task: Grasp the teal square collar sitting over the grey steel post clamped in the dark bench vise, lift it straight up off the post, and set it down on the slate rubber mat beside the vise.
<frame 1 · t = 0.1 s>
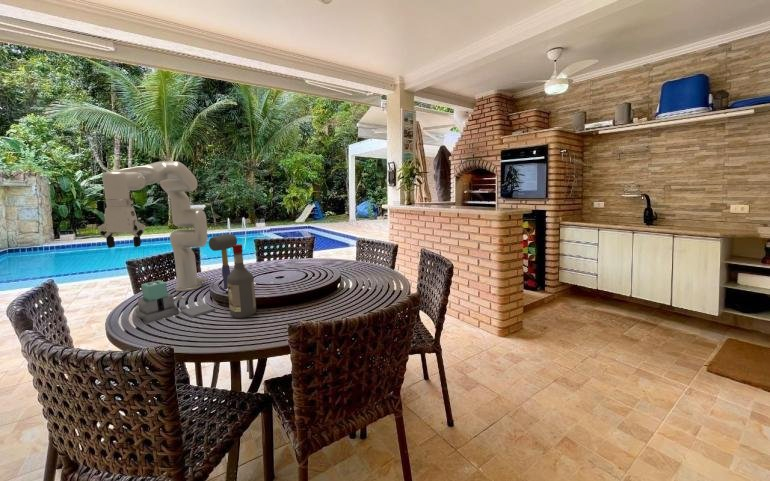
hand: (124, 246, 141), 31 cm above the table, tool pointing down, fingers open, 9 cm apart
vise: (157, 314, 152), on the table
rubber mallet: (228, 292, 181), on the table
mat: (198, 311, 155), on the table
liquor: (243, 314, 151), on the table
collar: (155, 297, 151), point 8 cm above the table, touching vise
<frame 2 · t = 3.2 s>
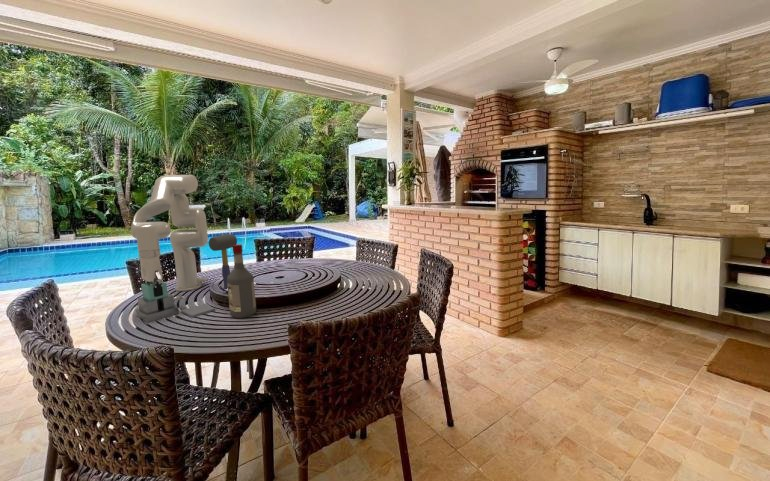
hand: (155, 294, 150), 9 cm above the table, tool pointing down, fingers closed on collar, 7 cm apart
collar: (155, 297, 151), point 8 cm above the table, touching gripper, vise
everything else where it was.
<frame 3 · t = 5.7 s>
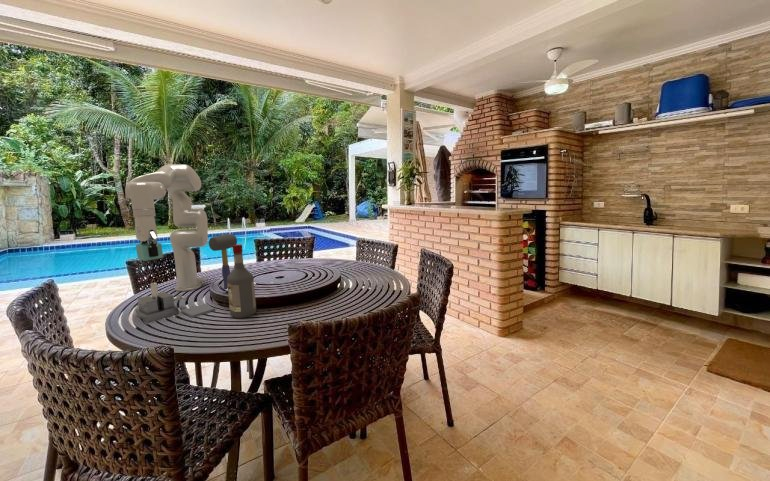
hand: (150, 255, 148), 26 cm above the table, tool pointing down, fingers closed on collar, 7 cm apart
collar: (150, 258, 148), point 25 cm above the table, touching gripper
everything else where it was.
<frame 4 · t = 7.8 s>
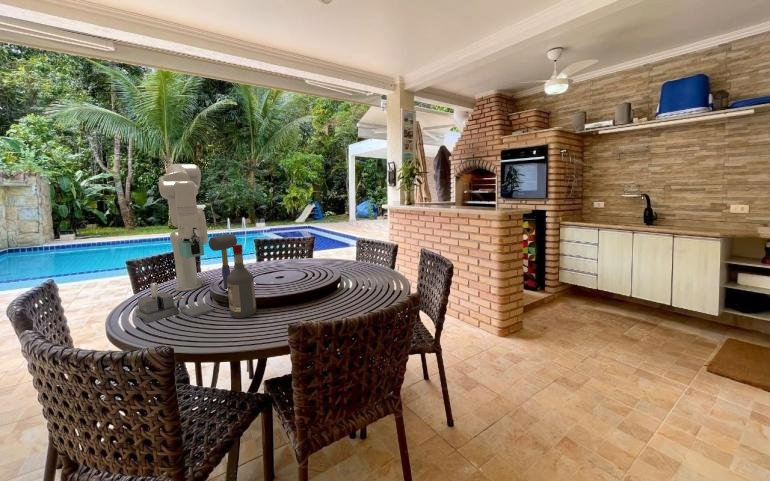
hand: (191, 252, 150), 26 cm above the table, tool pointing down, fingers closed on collar, 7 cm apart
collar: (192, 255, 151), point 25 cm above the table, touching gripper
everything else where it was.
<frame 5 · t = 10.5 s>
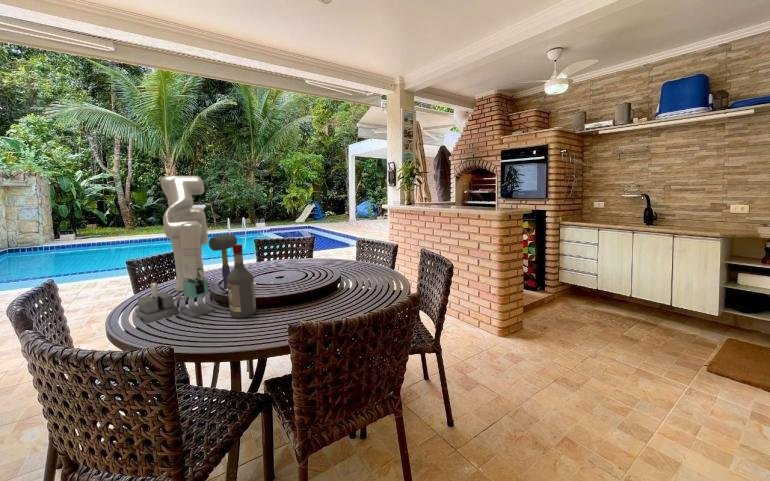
hand: (196, 291, 153), 9 cm above the table, tool pointing down, fingers closed on collar, 7 cm apart
collar: (196, 294, 153), point 8 cm above the table, touching gripper
everything else where it was.
when the fingers open (4 cm above the table, at t = 12.8 s): collar drops 1 cm, resting on mat.
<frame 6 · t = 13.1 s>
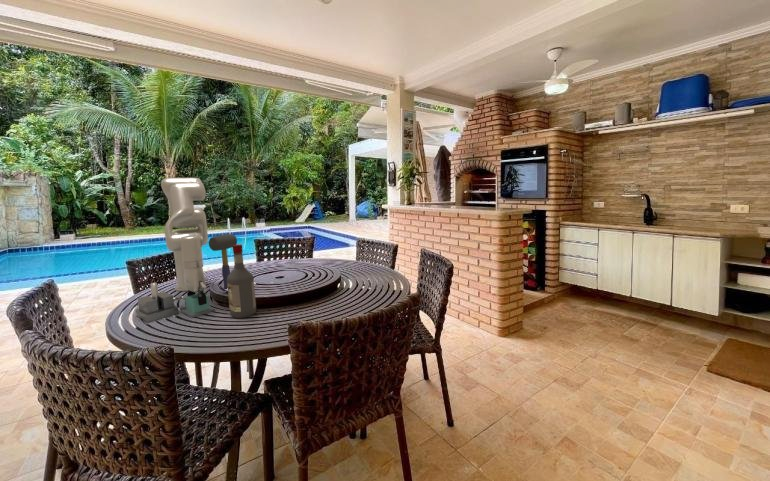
hand: (197, 302, 154), 4 cm above the table, tool pointing down, fingers open, 9 cm apart
collar: (198, 309, 155), point 1 cm above the table, touching mat
everything else where it was.
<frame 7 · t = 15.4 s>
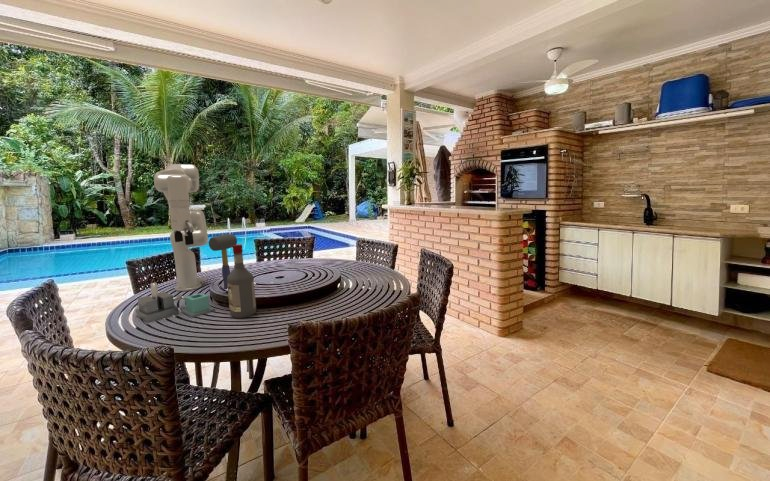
hand: (184, 243, 156), 30 cm above the table, tool pointing down, fingers open, 9 cm apart
nothing on the table moved.
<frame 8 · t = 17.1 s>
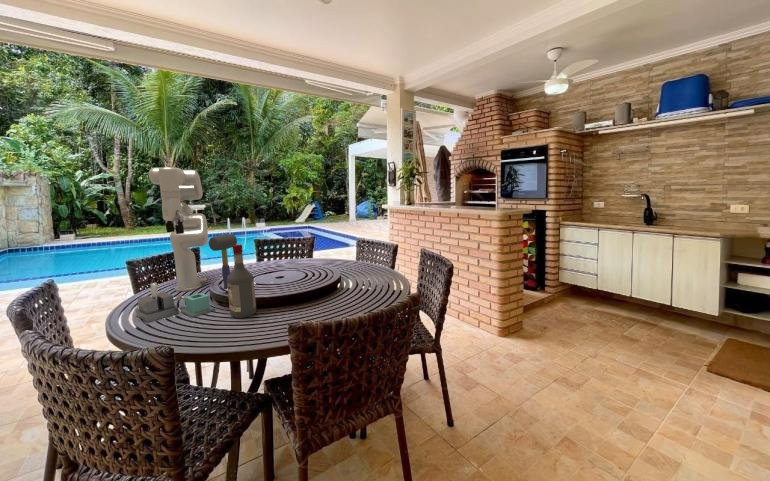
hand: (175, 232, 162), 33 cm above the table, tool pointing down, fingers open, 9 cm apart
nothing on the table moved.
at the end: collar inside the target area on the mat (0.1 cm from its centre), point 1.0 cm above the mat's base; collar tilted 0°; the gripper is holding nothing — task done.
